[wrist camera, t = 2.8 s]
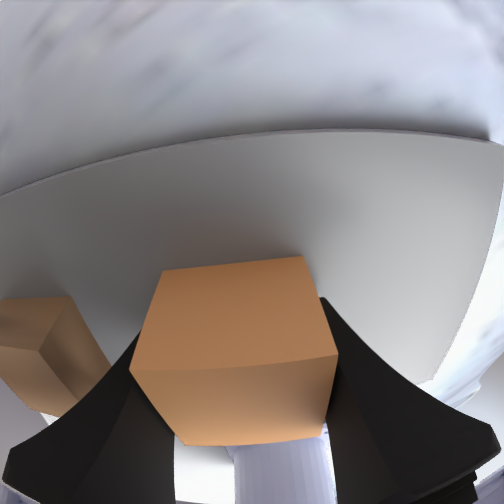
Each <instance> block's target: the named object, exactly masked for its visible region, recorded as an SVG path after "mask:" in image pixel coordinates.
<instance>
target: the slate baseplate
mask: <svg viewBox="0 0 504 504" xmlns="http://www.w3.org/2000/svg"><path fill="white" fill-rule="evenodd" d="M503 182H504V146H503V145H500V144H498V143H495V142H492V141H487V140H482V139H476V138H470V137H463V136H456V135H448V134H440V133H431V132H420V131H407V130H391V129H362V128H331V129H301V130H284V131H271V132H259V133H249V134H240V135H231V136H224V137H216V138H209V139H203V140H196V141H190V142H184V143H179V144H173V145H168V146H163V147H158V148H153V149H148V150H144V151H139V152H135V153H130V154H126V155H122V156H118V157H114V158H110V159H106V160H103V161H99V162H95V163H92V164H88V165H85V166H82V167H78V168H75V169H72V170H69V171H65V172H62V173H59V174H56V175H53V176H50V177H48V178H45V179H42V180H39V181H36V182H34V183H31V184H28V185H26V186H23V187H21V188H18V189H15V190H13V191H11V192H8V193H6V194H3V195H1V196H0V301H1V300H2V299H17V298H43V297H63V296H72V298H73V300H74V302H75V304H76V306H77V308H78V310H79V312H80V314H81V316H82V317H83V319H84V321H85V323H86V325H87V326H88V328H89V330H90V332H91V333H92V335H93V337H94V338H95V340H96V342H97V343H98V345H99V347H100V348H101V350H102V352H103V353H104V355H105V356H106V358H107V359H108V361H109V362H110V364H111V366H113V365H114V363H115V362H116V361H117V360H118V359H119V358H120V356H121V355H122V354H123V352H124V351H125V350H126V349H127V347H128V346H129V345H130V343H131V342H132V341H133V340H134V338H135V337H136V336H137V334H138V333H139V332H140V330H141V329H142V327H143V324H144V321H145V318H146V315H147V313H148V310H149V307H150V304H151V301H152V299H153V296H154V293H155V290H156V288H157V285H158V282H159V280H160V277H161V274H162V272H163V271H165V270H175V269H185V268H194V267H204V266H213V265H223V264H232V263H241V262H251V261H260V260H269V259H278V258H287V257H296V256H304V259H305V261H306V264H307V267H308V269H309V272H310V275H311V277H312V280H313V283H314V285H315V288H316V291H317V294H318V296H319V297H325V298H326V299H327V300H328V301H329V303H330V304H331V305H332V306H333V307H334V309H335V310H336V311H337V312H338V313H339V315H340V316H341V317H342V318H343V319H344V320H345V321H346V323H347V324H348V325H349V326H350V327H351V328H352V329H353V330H354V331H355V332H356V333H357V334H358V336H359V337H360V338H361V339H362V340H363V341H364V342H365V343H366V344H367V345H368V346H369V347H370V348H371V349H372V350H373V351H374V352H376V353H377V354H378V355H379V356H380V357H381V358H382V359H383V360H384V361H385V362H386V363H388V364H389V365H390V366H391V367H392V368H393V369H395V370H396V371H397V372H398V373H400V374H401V375H402V376H403V377H405V378H406V379H407V380H409V381H410V382H412V383H413V384H414V385H418V384H421V383H424V382H427V381H429V380H432V379H433V378H434V376H435V374H436V373H437V371H438V369H439V367H440V365H441V364H442V362H443V360H444V358H445V356H446V354H447V353H448V351H449V349H450V347H451V345H452V343H453V341H454V339H455V337H456V335H457V332H458V330H459V328H460V326H461V324H462V322H463V319H464V317H465V315H466V312H467V310H468V308H469V305H470V303H471V300H472V298H473V295H474V293H475V290H476V287H477V284H478V282H479V279H480V276H481V273H482V270H483V267H484V264H485V261H486V257H487V254H488V251H489V247H490V244H491V240H492V236H493V232H494V228H495V224H496V220H497V215H498V210H499V206H500V200H501V195H502V189H503Z"/></svg>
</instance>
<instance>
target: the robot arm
mask: <svg viewBox="0 0 504 504" xmlns="http://www.w3.org/2000/svg"><path fill="white" fill-rule="evenodd" d="M319 299H320V302H321V305H322V308H323V310H324V313H325V316H326V319H327V322H328V325H329V328H330V331H331V333H332V336H333V339H334V342H335V345H336V348H337V351H338V360H337V365H336V370H335V375H334V380H333V385H332V390H331V395H330V399H329V404H328V408H327V412H326V416H325V420H326V423H324V425H323V428H322V432H321V436H318V437H312V438H306V439H299V440H292V441H284V442H275V443H265V444H252V445H233V446H225V448H226V450H227V452H228V453H229V455H230V457H231V459H232V460H233V462H234V477H235V504H336V501H335V495H334V490H333V484H332V479H331V474H330V468H329V463H328V458H327V453H326V451H327V449H328V446H329V443H330V446H331V452H332V459H333V466H334V473H335V482H336V491H337V501H338V504H504V466H502V467H501V468H499V469H498V470H497V471H495V472H494V473H492V474H491V475H489V476H488V477H486V478H485V479H483V480H482V481H481V482H480V483H479V484H478V485H476V486H475V487H474V484H473V482H474V481H475V480H477V476H476V473H475V470H476V469H478V468H480V467H481V466H482V465H483V464H485V463H487V462H488V461H490V460H491V459H492V458H494V457H495V456H496V455H498V454H499V453H500V451H501V447H500V444H499V442H498V440H497V437H496V435H495V433H494V431H493V429H492V427H491V425H490V424H487V423H485V422H482V421H479V420H477V419H475V418H473V417H470V416H468V415H465V414H463V413H461V412H459V411H457V410H455V409H453V408H452V407H450V406H448V405H446V404H444V403H442V402H441V401H439V400H437V399H436V398H434V397H433V396H431V395H429V394H428V393H426V392H425V391H423V390H422V389H420V388H418V387H417V386H416V385H414V384H413V383H412V382H410V381H409V380H407V379H406V378H405V377H403V376H402V375H401V374H400V373H398V372H397V371H396V370H395V369H393V368H392V367H391V366H390V365H389V364H388V363H386V362H385V361H384V360H383V359H382V358H381V357H380V356H379V355H378V354H377V353H376V352H374V351H373V350H372V349H371V348H370V347H369V346H368V345H367V344H366V343H365V342H364V341H363V340H362V339H361V338H360V337H359V336H358V334H357V333H356V332H355V331H354V330H353V329H352V328H351V327H350V326H349V325H348V324H347V323H346V321H345V320H344V319H343V318H342V317H341V316H340V315H339V313H338V312H337V311H336V310H335V309H334V307H333V306H332V305H331V304H330V303H329V301H328V300H327V299H326V298H325V297H319ZM141 330H142V329H141ZM141 330H140V332H139V333H138V334H137V336H136V337H135V338H134V340H133V341H132V342H131V343H130V345H129V346H128V347H127V349H126V350H125V351H124V352H123V354H122V355H121V356H120V358H119V359H118V360H117V361H116V362H115V363H114V365H113V366H112V367H111V368H110V369H109V370H108V372H107V373H106V374H105V375H104V376H103V378H102V379H101V380H100V381H99V382H98V383H97V384H96V385H95V386H94V387H93V388H92V389H91V390H90V391H89V392H88V393H87V394H86V395H85V396H84V397H83V398H82V399H81V400H80V401H79V402H78V403H77V404H75V405H74V406H73V407H72V408H71V409H70V410H68V411H67V412H66V413H65V414H64V415H62V416H61V417H60V418H59V419H58V420H56V421H55V422H54V423H52V424H51V425H49V426H48V427H47V428H45V429H44V430H42V431H41V432H39V433H38V434H36V435H35V436H33V437H31V438H30V439H28V440H26V441H24V442H23V443H20V444H19V445H17V446H15V447H13V448H11V449H10V452H9V455H8V458H7V462H6V466H5V469H4V473H3V477H2V480H3V482H5V483H6V484H8V485H9V486H11V487H13V488H14V489H16V490H18V491H19V492H21V493H23V494H24V495H26V496H28V497H30V498H32V499H34V500H36V501H37V502H40V504H176V502H175V488H174V437H175V433H174V432H173V431H172V429H171V428H170V427H169V426H168V424H167V423H166V422H165V420H164V419H163V418H162V416H161V415H160V414H159V412H158V411H157V410H156V408H155V407H154V406H153V404H152V403H151V401H150V400H149V399H148V397H147V396H146V394H145V393H144V391H143V390H142V389H141V387H140V386H139V384H138V383H137V381H136V380H135V378H134V377H133V375H132V373H131V372H130V370H129V368H130V364H131V361H132V358H133V355H134V352H135V348H136V345H137V342H138V339H139V336H140V333H141ZM0 504H38V503H36V502H34V501H32V500H31V499H29V498H27V497H25V496H23V495H21V494H19V493H17V492H14V491H13V490H11V489H9V488H7V487H6V486H4V485H3V484H1V483H0Z"/></svg>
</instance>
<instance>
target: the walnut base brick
mask: <svg viewBox="0 0 504 504" xmlns="http://www.w3.org/2000/svg"><path fill="white" fill-rule="evenodd" d="M111 367H112V366H111V364H110V362H109V361H108V359H107V358H106V356H105V355H104V353H103V352H102V350H101V348H100V347H99V345H98V343H97V342H96V340H95V338H94V337H93V335H92V333H91V332H90V330H89V328H88V326H87V325H86V323H85V321H84V319H83V317H82V316H81V314H80V312H79V310H78V308H77V306H76V304H75V302H74V300H73V298H72V296H63V297H43V298H17V299H2V300H1V301H0V377H1V378H2V379H3V381H4V382H5V383H6V384H7V385H8V386H9V387H10V389H11V390H12V391H13V392H14V393H15V394H16V395H17V396H18V397H19V398H20V399H21V400H22V401H23V402H24V403H25V404H26V405H27V406H28V407H29V408H30V409H32V410H35V411H38V412H42V413H45V414H49V415H53V416H56V417H61V416H62V415H64V414H65V413H66V412H67V411H68V410H70V409H71V408H72V407H73V406H74V405H75V404H77V403H78V402H79V401H80V400H81V399H82V398H83V397H84V396H85V395H86V394H87V393H88V392H89V391H90V390H91V389H92V388H93V387H94V386H95V385H96V384H97V383H98V382H99V381H100V380H101V379H102V378H103V376H104V375H105V374H106V373H107V372H108V370H109V369H110V368H111Z"/></svg>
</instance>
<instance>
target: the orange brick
mask: <svg viewBox="0 0 504 504" xmlns="http://www.w3.org/2000/svg"><path fill="white" fill-rule="evenodd" d="M337 360H338V351H337V348H336V345H335V342H334V339H333V336H332V333H331V331H330V328H329V325H328V322H327V319H326V316H325V313H324V310H323V308H322V305H321V302H320V299H319V296H318V294H317V291H316V288H315V285H314V283H313V280H312V277H311V275H310V272H309V269H308V267H307V264H306V261H305V259H304V256H296V257H287V258H278V259H269V260H260V261H251V262H241V263H232V264H223V265H213V266H204V267H194V268H185V269H175V270H165V271H163V272H162V274H161V277H160V280H159V282H158V285H157V288H156V290H155V293H154V296H153V299H152V301H151V304H150V307H149V310H148V313H147V315H146V318H145V321H144V324H143V327H142V330H141V333H140V336H139V339H138V342H137V345H136V348H135V352H134V355H133V358H132V361H131V364H130V368H129V370H130V372H131V373H132V375H133V377H134V378H135V380H136V381H137V383H138V384H139V386H140V387H141V389H142V390H143V391H144V393H145V394H146V396H147V397H148V399H149V400H150V401H151V403H152V404H153V406H154V407H155V408H156V410H157V411H158V412H159V414H160V415H161V416H162V418H163V419H164V420H165V422H166V423H167V424H168V426H169V427H170V428H171V429H172V431H173V432H174V433H175V434H176V436H177V437H178V438H179V439H180V440H181V442H182V443H183V444H184V445H188V446H233V445H252V444H265V443H275V442H284V441H292V440H299V439H306V438H312V437H318V436H321V432H322V428H323V425H324V420H325V416H326V412H327V408H328V404H329V399H330V395H331V390H332V385H333V380H334V375H335V370H336V365H337Z"/></svg>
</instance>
